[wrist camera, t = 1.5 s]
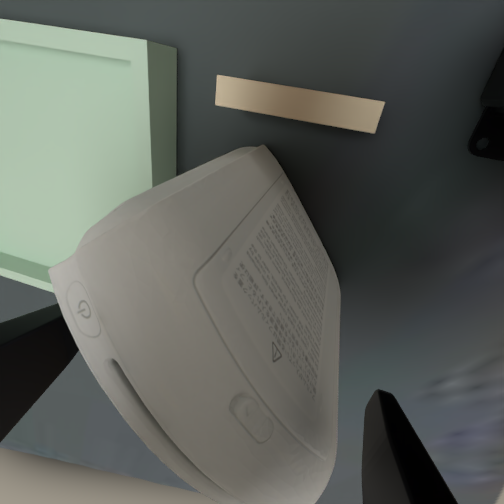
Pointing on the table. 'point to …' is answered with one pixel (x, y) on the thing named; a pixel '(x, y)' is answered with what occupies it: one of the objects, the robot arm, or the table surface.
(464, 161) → the table surface
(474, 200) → the table surface
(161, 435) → the photo printer
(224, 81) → the holder
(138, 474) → the table surface
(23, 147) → the tray
